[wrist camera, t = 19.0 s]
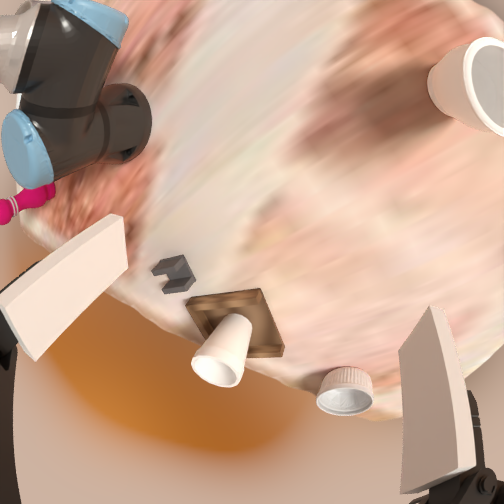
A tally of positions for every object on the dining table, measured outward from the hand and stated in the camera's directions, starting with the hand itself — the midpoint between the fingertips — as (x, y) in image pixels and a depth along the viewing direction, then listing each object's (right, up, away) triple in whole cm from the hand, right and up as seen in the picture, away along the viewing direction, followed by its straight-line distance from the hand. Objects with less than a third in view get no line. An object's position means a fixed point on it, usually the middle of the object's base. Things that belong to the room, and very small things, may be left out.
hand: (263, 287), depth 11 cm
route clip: (-15, -2, +45) cm, 47 cm away
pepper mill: (-52, +18, +45) cm, 72 cm away
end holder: (-3, -14, +47) cm, 49 cm away
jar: (+27, +24, +15) cm, 40 cm away
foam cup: (-3, -14, +47) cm, 49 cm away
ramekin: (+22, -28, +48) cm, 60 cm away
